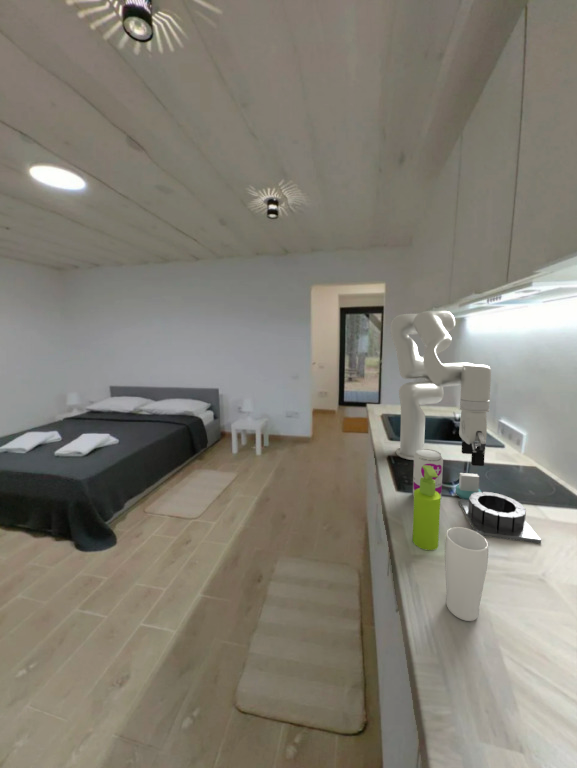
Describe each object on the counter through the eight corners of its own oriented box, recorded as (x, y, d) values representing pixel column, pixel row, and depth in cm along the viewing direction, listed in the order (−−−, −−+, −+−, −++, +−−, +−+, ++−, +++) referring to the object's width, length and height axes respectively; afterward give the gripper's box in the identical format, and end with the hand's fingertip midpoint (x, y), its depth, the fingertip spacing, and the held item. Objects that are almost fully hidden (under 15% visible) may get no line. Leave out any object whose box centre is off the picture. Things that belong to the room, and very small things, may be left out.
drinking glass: (448, 624, 54) (453, 549, 51) (437, 592, 60) (440, 524, 58) (490, 629, 53) (496, 553, 50) (473, 596, 59) (478, 527, 57)
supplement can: (444, 506, 90) (447, 459, 88) (415, 503, 92) (417, 457, 90) (436, 492, 98) (439, 448, 96) (410, 490, 100) (411, 447, 97)
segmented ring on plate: (458, 501, 92) (459, 486, 91) (511, 507, 88) (512, 491, 88) (476, 535, 77) (477, 517, 76) (540, 543, 73) (542, 524, 72)
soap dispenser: (417, 552, 71) (420, 474, 68) (409, 533, 78) (412, 461, 75) (443, 554, 71) (447, 475, 68) (433, 535, 77) (437, 462, 74)
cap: (453, 488, 100) (454, 469, 99) (476, 490, 98) (478, 470, 97) (459, 499, 93) (460, 478, 92) (484, 502, 92) (486, 481, 90)
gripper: (453, 399, 100) (451, 449, 102) (469, 411, 84) (467, 469, 86) (478, 400, 98) (476, 450, 100) (500, 412, 82) (497, 471, 84)
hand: (472, 459), depth 93 cm, fingers open, 9 cm apart
